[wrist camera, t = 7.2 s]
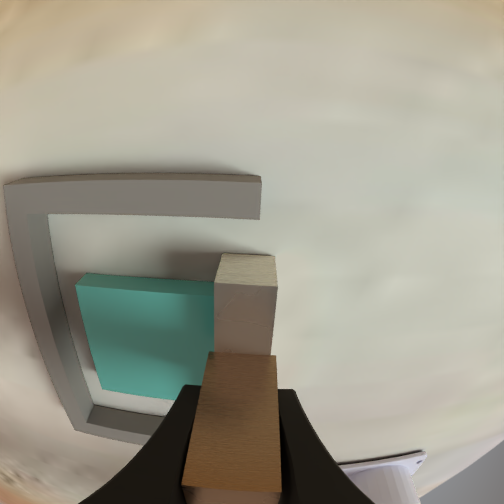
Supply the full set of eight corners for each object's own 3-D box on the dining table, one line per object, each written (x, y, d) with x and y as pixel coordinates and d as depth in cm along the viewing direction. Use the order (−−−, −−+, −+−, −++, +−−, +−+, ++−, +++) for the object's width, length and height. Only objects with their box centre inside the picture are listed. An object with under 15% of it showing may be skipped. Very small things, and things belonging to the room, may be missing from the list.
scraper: (264, 400, 16) (263, 543, 8) (217, 397, 16) (197, 538, 8) (280, 256, 13) (300, 428, 5) (217, 252, 13) (166, 418, 5)
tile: (221, 383, 16) (219, 404, 14) (111, 370, 15) (102, 389, 14) (221, 278, 13) (218, 296, 12) (89, 269, 13) (74, 284, 12)
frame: (243, 435, 17) (243, 455, 15) (82, 413, 17) (74, 430, 15) (260, 176, 11) (261, 183, 10) (24, 178, 11) (3, 185, 10)
